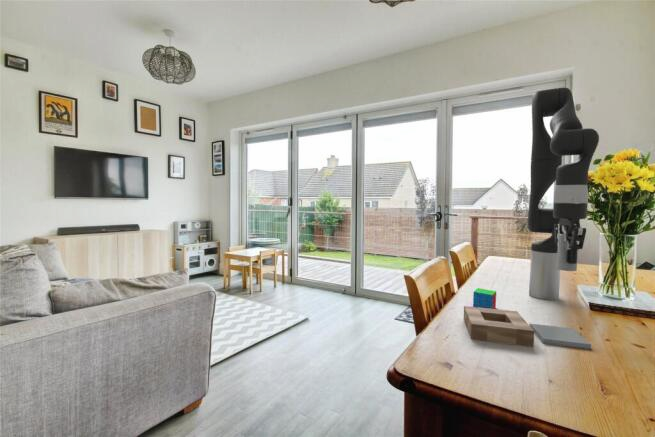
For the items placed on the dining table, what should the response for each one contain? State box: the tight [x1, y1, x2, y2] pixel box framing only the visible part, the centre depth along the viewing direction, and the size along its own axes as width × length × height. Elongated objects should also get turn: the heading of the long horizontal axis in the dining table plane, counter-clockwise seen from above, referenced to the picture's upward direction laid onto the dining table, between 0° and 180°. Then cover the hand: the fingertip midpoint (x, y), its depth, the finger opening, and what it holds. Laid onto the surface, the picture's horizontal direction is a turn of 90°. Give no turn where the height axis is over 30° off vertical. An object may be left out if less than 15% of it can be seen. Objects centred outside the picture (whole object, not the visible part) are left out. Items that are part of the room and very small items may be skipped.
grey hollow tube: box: [557, 233, 579, 272], centre depth 87 cm, size 4×4×10 cm
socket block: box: [463, 305, 535, 348], centre depth 83 cm, size 14×14×4 cm
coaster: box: [529, 323, 592, 350], centre depth 80 cm, size 10×10×1 cm
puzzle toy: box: [472, 287, 497, 309], centre depth 102 cm, size 6×6×6 cm
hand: (567, 261), depth 87 cm, fingers closed on grey hollow tube, 4 cm apart
